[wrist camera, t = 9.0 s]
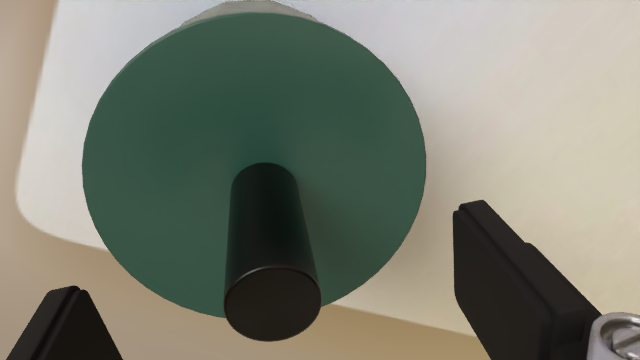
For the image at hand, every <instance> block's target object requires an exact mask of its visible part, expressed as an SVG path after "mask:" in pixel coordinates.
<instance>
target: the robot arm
mask: <svg viewBox="0 0 640 360" xmlns="http://www.w3.org/2000/svg"><path fill="white" fill-rule="evenodd" d="M453 249H454V291H455V297H456V300H457V303H458V305H459V307H460V308H461V310H462V312H463V313H464V315H465V317H466V318H467V320H468V322H469V323H470V325H471V327H472V328H473V330H474V332H475V333H476V335H477V337H478V338H479V340H480V342H481V343H482V345H483V346H484V348H485V350H486V352H487V353H488V355H489V357H490V358H491V360H640V315H637V314H631V313H625V312H617V313H608V314H605V315H602V314H601V313H600V312H599V311H598V310H597V309H596V308H595V307H594V306H593V305H592V304H591V303H590V302H589V301H588V300H587V299H586V298H585V297H584V296H583V295H582V294H581V293H580V292H579V291H578V290H577V289H576V288H575V287H574V286H573V285H572V284H571V283H570V282H569V281H568V280H567V279H566V278H565V277H564V276H563V275H562V274H561V273H560V272H559V271H558V270H557V269H556V268H555V267H554V265H553V264H552V263H551V262H550V261H549V260H548V259H547V258H546V257H545V256H544V255H543V254H542V253H541V252H540V251H539V250H538V249H537V248H536V247H535V246H533V245H532V244H530V243H525V242H524V241H523V240H522V239H521V238H520V237H519V236H518V235H517V234H516V233H515V232H514V231H513V230H512V229H511V228H510V227H509V226H508V225H507V224H506V222H505V221H504V220H503V219H502V218H501V217H500V216H499V215H498V214H497V213H496V212H495V211H494V210H493V209H492V208H491V207H490V206H489V205H488V204H487V203H486V202H485V201H484V200H478V201H473V202H468V203H464V204H461V205H460V206H459V210H458V211H454V212H453ZM6 360H123V359H122V357H121V355H120V353H119V351H118V349H117V347H116V345H115V344H114V341H113V340H112V338H111V336H110V334H109V332H108V330H107V328H106V326H105V324H104V322H103V320H102V318H101V316H100V314H99V312H98V311H97V309H96V307H95V305H94V303H93V301H92V299H91V297H90V295H89V293H88V292H87V291H86V290H80V288H79V287H77V286H69V287H64V288H60V289H55V290H51V291H49V292H48V293H47V294H46V296H45V297H44V299H43V301H42V302H41V304H40V305H39V307H38V309H37V310H36V312H35V314H34V315H33V317H32V319H31V320H30V322H29V323H28V325H27V327H26V328H25V330H24V331H23V333H22V335H21V337H20V338H19V340H18V341H17V343H16V345H15V346H14V348H13V349H12V351H11V353H10V354H9V356H8V357H7V359H6Z"/></svg>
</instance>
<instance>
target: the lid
mask: <svg viewBox="0 0 640 360" xmlns="http://www.w3.org/2000/svg"><path fill="white" fill-rule="evenodd" d="M82 175H83V188H84V193H85V197H86V202H87V206H88V210H89V212H90V215H91V217H92V220H93V223H94V225H95V228H96V229H97V231H98V233H99V235H100V237H101V238H102V240H103V242H104V244H105V245H106V247H107V248H108V249H109V251H110V252H111V253H112V255H113V256H114V257H115V259H116V260H117V261H118V262H119V263H120V264H121V265H122V266H123V267H124V268H125V269H126V271H128V273H129V274H130V275H131V276H133V277H134V278H135V279H136V280H138V281H139V282H140V283H142V284H143V285H144V286H145V287H147V288H148V289H150V290H151V291H153V292H155V293H156V294H158V295H159V296H161V297H163V298H164V299H167V300H169V301H171V302H173V303H175V304H178V305H179V306H181V307H185V308H188V309H191V310H194V311H196V312H199V313H203V314H207V315H212V316H216V317H222V318H226V319H227V320H228V322H229V324H230V325H231V326H232V327H233V329H235V330H236V331H237V332H238V333H240V334H242V335H243V336H245V337H247V338H250V339H253V340H258V341H267V342H269V341H270V342H272V341H280V340H285V339H288V338H291V337H293V336H296V335H298V334H300V333H301V332H302V331H304V330H305V329H307V328H308V327H309V326H310V325H311V324H312V323H313V322H314V320H315V319H316V317H317V316H318V314H319V311H320V308H321V307H322V306H325V305H327V304H330V303H332V302H334V301H336V300H338V299H340V298H342V297H344V296H346V295H347V294H349V293H350V292H352V291H354V290H355V289H357V288H358V287H360V286H361V285H363V284H364V283H365V282H366V281H368V280H369V279H370V278H371V277H372V276H374V275H375V274H376V273H377V272H378V271H379V270H380V269H381V268H382V267H383V266H384V265H385V264H386V263H387V262H388V261H389V260H390V259H391V257H392V256H393V255H394V253H395V252H396V251H397V250H398V248H399V247H400V246H401V244H402V242H403V241H404V239H405V237H406V236H407V234H408V232H409V231H410V229H411V227H412V224H413V222H414V220H415V218H416V215H417V213H418V210H419V206H420V203H421V200H422V196H423V191H424V185H425V178H426V151H425V143H424V136H423V133H422V129H421V126H420V122H419V118H418V116H417V114H416V111H415V109H414V107H413V104H412V102H411V100H410V98H409V96H408V95H407V93H406V92H405V90H404V88H403V87H402V85H401V84H400V82H399V81H398V79H397V78H396V77H395V76H394V75H393V73H392V72H391V71H390V70H389V69H388V68H387V66H386V65H385V64H384V63H383V62H382V61H381V60H379V59H378V58H377V57H376V56H375V55H374V54H373V53H372V52H370V51H369V50H368V49H367V48H366V47H364V46H363V45H361V44H360V43H358V42H357V41H355V40H354V39H352V38H351V37H349V36H348V35H346V34H345V33H342V32H340V31H338V30H336V29H334V28H332V27H330V26H328V25H326V24H323V23H321V22H318V21H314V20H311V19H308V18H305V17H301V16H298V15H292V14H286V13H280V12H274V11H242V12H233V13H224V14H219V15H215V16H211V17H207V18H203V19H200V20H196V21H194V22H191V23H189V24H186V25H184V26H182V27H179V28H177V29H174V30H172V31H171V32H169V33H167V34H166V35H164V36H162V37H161V38H159V39H157V40H156V41H154V42H152V43H151V44H150V45H148V46H147V47H146V48H145V49H144V50H142V51H141V52H140V53H139V54H137V55H136V56H135V57H134V58H133V59H131V60H130V61H129V62H128V63H127V64H126V65H125V67H124V68H123V69H122V70H121V71H120V72H119V73H118V74H117V75H116V77H115V78H114V79H113V80H112V81H111V83H110V84H109V86H108V88H107V89H106V91H105V92H104V94H103V95H102V97H101V98H100V100H99V102H98V104H97V106H96V109H95V111H94V113H93V115H92V118H91V120H90V123H89V127H88V130H87V134H86V138H85V142H84V149H83V159H82Z"/></svg>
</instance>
